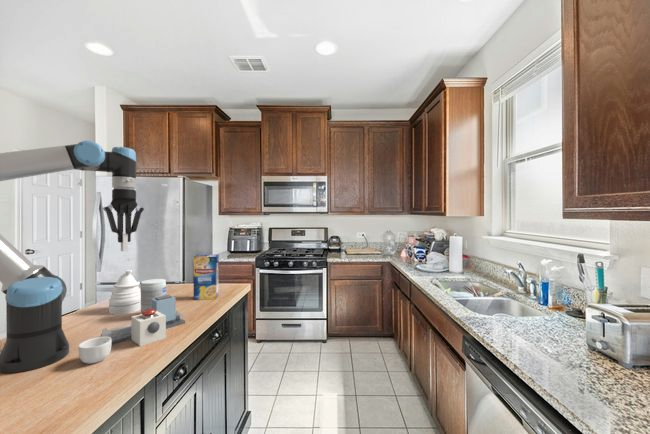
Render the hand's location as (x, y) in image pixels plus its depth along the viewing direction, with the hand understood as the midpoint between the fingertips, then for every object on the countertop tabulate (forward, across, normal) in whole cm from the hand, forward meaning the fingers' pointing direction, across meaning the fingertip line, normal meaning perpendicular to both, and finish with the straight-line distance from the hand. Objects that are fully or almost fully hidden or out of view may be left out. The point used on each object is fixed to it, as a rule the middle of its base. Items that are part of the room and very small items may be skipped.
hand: (124, 250), depth 111 cm
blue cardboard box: (+30, +41, +14) cm, 52 cm away
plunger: (+27, +2, -18) cm, 33 cm away
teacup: (+30, -13, -21) cm, 39 cm away
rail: (+29, +4, -8) cm, 31 cm away
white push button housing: (+29, +2, -18) cm, 35 cm away
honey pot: (+30, +8, +24) cm, 39 cm away
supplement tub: (+30, +13, +7) cm, 33 cm away
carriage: (+28, +11, -8) cm, 31 cm away
